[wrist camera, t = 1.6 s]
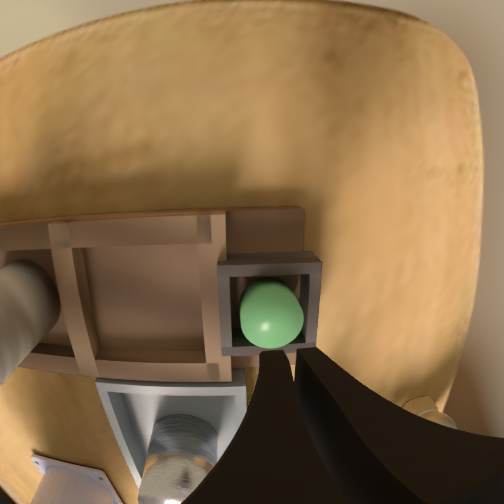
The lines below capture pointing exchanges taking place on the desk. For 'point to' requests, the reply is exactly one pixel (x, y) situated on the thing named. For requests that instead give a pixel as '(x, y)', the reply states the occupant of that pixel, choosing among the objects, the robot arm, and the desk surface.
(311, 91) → the desk surface
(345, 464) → the robot arm
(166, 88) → the desk surface
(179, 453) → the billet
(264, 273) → the brown compartment tray
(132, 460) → the tote
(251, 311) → the button
